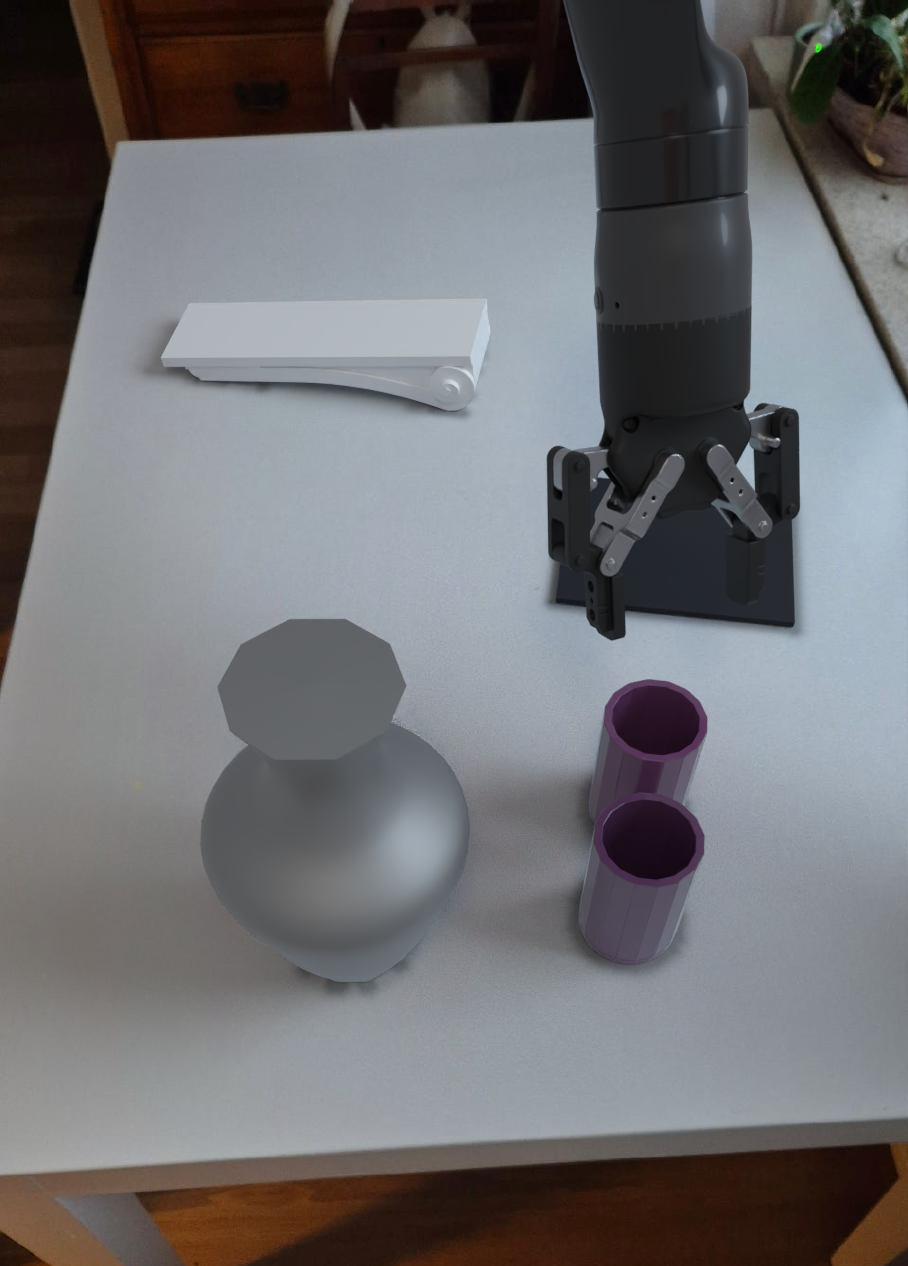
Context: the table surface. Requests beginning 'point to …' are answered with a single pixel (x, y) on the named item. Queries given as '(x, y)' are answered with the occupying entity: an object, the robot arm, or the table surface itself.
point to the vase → (330, 804)
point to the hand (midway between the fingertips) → (677, 617)
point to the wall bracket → (340, 345)
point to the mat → (693, 570)
